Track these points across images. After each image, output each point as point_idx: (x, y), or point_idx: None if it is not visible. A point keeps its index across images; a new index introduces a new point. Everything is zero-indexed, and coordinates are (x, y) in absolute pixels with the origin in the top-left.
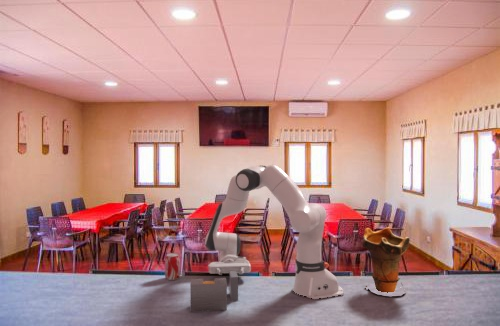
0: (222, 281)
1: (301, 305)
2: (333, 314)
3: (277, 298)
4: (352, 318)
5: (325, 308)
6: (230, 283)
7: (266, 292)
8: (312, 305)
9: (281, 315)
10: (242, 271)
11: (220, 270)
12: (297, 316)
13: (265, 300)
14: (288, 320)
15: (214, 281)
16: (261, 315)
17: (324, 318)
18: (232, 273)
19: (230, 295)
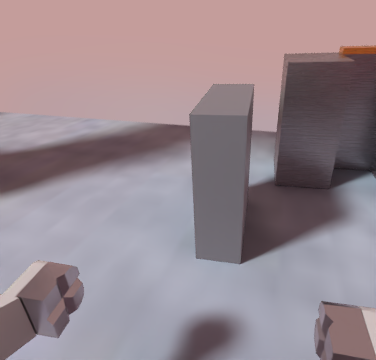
0: (304, 55)
1: (36, 149)
2: (22, 125)
3: (52, 183)
4: (11, 117)
5: (4, 136)
6: (249, 143)
7: (36, 228)
8: (11, 146)
9: (129, 132)
10: (43, 262)
11: (366, 344)
12: (99, 127)
13: (106, 180)
14: (130, 123)
15: (342, 47)
16: (177, 136)
17: (56, 120)
18: (233, 100)
19: (246, 205)
